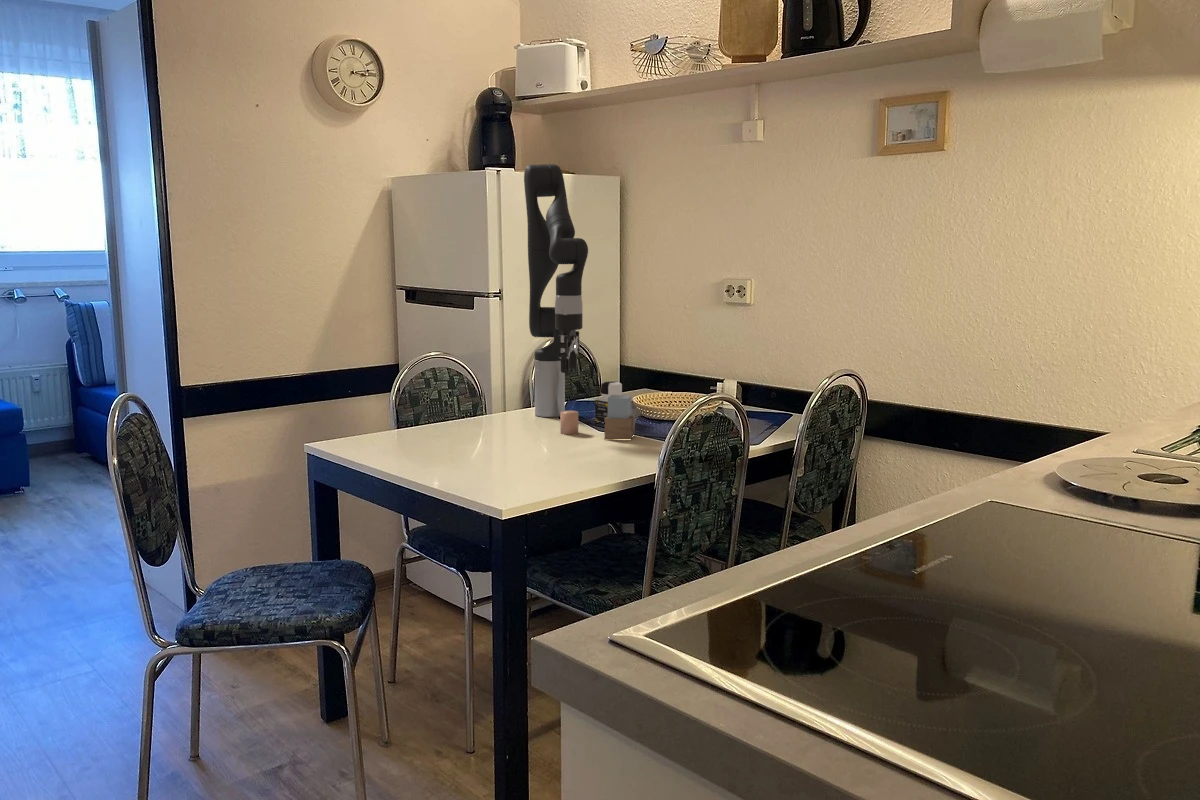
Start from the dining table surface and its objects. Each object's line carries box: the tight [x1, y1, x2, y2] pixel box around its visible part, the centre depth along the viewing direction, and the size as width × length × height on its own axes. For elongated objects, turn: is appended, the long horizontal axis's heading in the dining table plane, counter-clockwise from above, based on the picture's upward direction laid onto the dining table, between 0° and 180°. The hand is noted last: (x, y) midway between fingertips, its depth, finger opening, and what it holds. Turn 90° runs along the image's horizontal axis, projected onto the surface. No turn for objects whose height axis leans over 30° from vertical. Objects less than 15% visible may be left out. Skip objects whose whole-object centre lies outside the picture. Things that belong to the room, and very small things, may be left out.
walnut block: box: [604, 414, 636, 440], centre depth 258 cm, size 7×7×6 cm
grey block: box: [608, 394, 633, 419], centre depth 257 cm, size 6×6×6 cm
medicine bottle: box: [594, 381, 623, 422], centre depth 280 cm, size 7×7×12 cm
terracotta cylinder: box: [559, 410, 579, 436], centre depth 264 cm, size 5×5×6 cm
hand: (568, 370), depth 262 cm, fingers open, 8 cm apart
